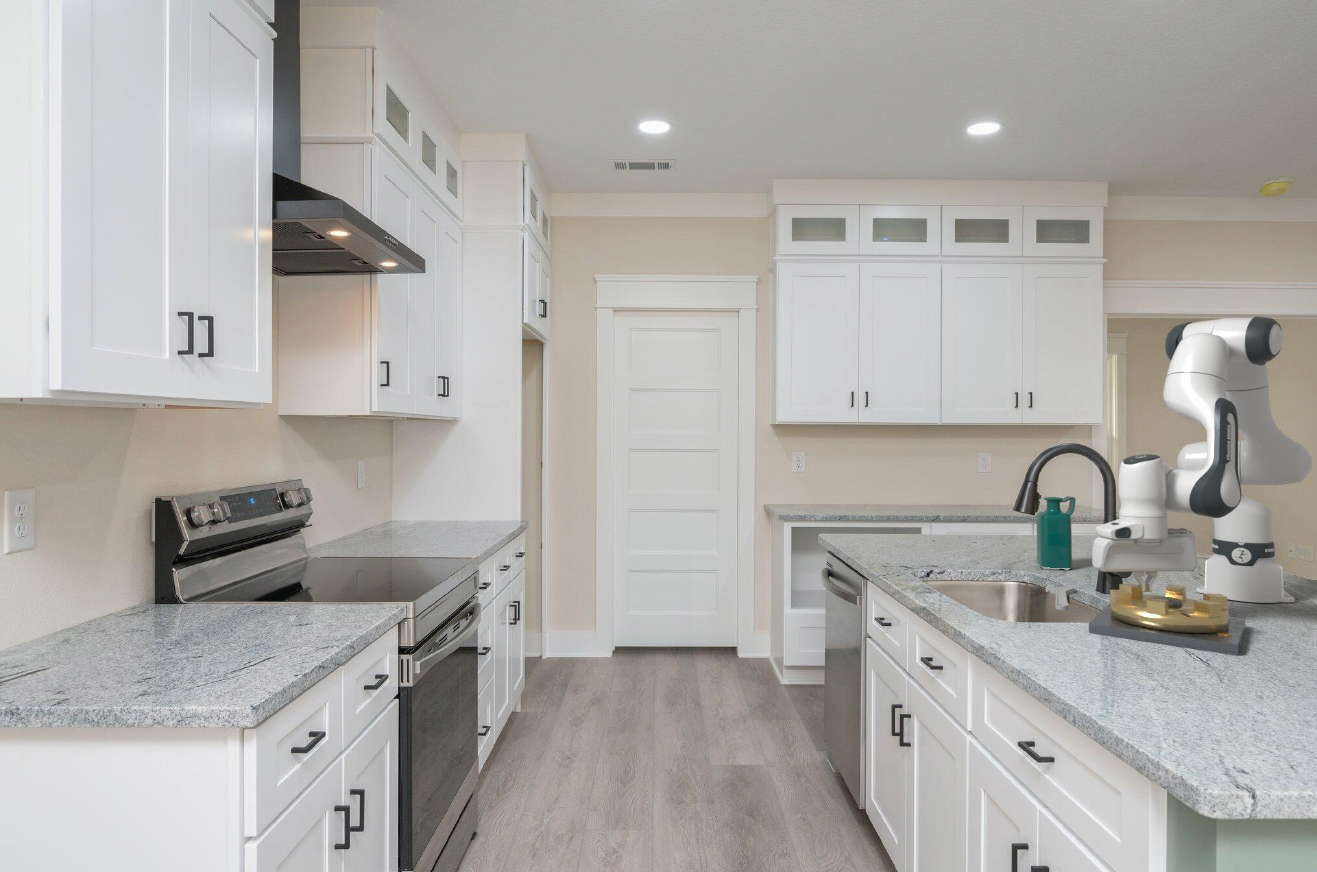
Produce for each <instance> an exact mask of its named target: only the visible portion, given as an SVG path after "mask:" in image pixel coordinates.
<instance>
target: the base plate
mask: <svg viewBox="0 0 1317 872" xmlns="http://www.w3.org/2000/svg"><path fill="white" fill-rule="evenodd" d="M1246 625H1247V622H1246V618H1243V617H1233V616H1229V628H1228V629H1227V630H1225V631H1220V632H1211V633H1190V632H1176V631H1167V630H1159V629H1153V628H1147V627H1142V626H1138V625H1133V624H1130V623H1126V622H1123V621H1120V620H1118V619H1116V618H1114V617H1113V616H1112V615H1111V602H1110V603H1109V604H1108V605H1107V606H1105V608H1103V610H1101V611H1100V612H1099V613H1098V614H1097V615H1096V616H1095V617H1094V618H1093V619H1092V620H1090V622H1088V633H1089V634H1095V635H1099V636H1101V635H1102V636H1108V637H1114V638H1121V639H1128V640H1134V641H1140V642H1141V641H1142V642H1147V643H1154V644H1161V645H1167V646H1173V647H1174V646H1175V647H1179V648H1186V649H1191V650H1197V651H1198V650H1199V651H1207V652H1213V653H1219V654H1224V655H1225V654H1226V655H1233V656H1239V654H1240V651H1241V647H1242V643H1243V639H1244V636H1245V632H1246V629H1247V626H1246Z"/></svg>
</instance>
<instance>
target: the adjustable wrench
mask: <svg viewBox="0 0 1317 872" xmlns="http://www.w3.org/2000/svg"><path fill="white" fill-rule="evenodd" d="M1062 586H1063V587H1062ZM1062 586H1056V585H1054V584H1048V585H1047V586H1046V587H1045V592H1046V593H1049V594H1052V595H1055V604H1054V605H1055V609H1056V610H1060V611H1069V603H1068V596H1069V595H1070V594H1071V595H1072V594H1075V593H1076V592H1075V590H1076V587H1075V586H1073V585H1069V584H1063V585H1062Z"/></svg>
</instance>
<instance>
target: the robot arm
mask: <svg viewBox="0 0 1317 872" xmlns="http://www.w3.org/2000/svg"><path fill="white" fill-rule="evenodd" d="M1164 343H1165V344H1164V347H1165V348H1164V349H1165V353H1166V356H1167V358H1168V359H1169V360H1170V362H1169V366H1168V370H1167V373H1166V376H1165V377H1166V378H1165V381H1164V385H1163V389H1162V390H1163V393H1162V395H1163V396H1162V397H1163V401H1164V403H1165V405H1166V406H1167V407H1168V409H1169V410H1170V411H1172V412H1173V413H1174V414H1175V415H1178V416H1179V417H1181V418H1185V419H1187V420H1190V421H1192V422H1195V423H1199V424H1201V425H1202V426H1203V427H1204V429H1205V431H1206V441H1198V442H1193V443H1188V444H1186V445H1184V446H1183V447H1182V448H1181V449H1180V451H1179V453H1178V454H1177V457H1176V466H1177V468H1174V467H1173V466H1170V465H1168V464H1166V463H1165V462H1164V461H1163V458H1162V456H1161V455H1158V454H1151V453H1150V454H1147V453H1146V454H1139V455H1137V454H1135V455H1130V456H1128V457H1126V458H1123V460H1121V463H1120V465H1119V470H1118V477H1117V478H1118V479H1117V480H1118V481H1117V485H1118V486H1117V488H1118V489H1117V492H1118V493H1117V494H1118V498H1119V501H1120V508H1119V511H1118V519H1115V520H1113V521H1110V522H1106V523H1103V524H1100V525H1097V526H1096V527H1095V530H1094V531H1095V534H1096V535H1097V536H1098V537H1096V538H1095V539H1094V541H1093V544H1092V556H1091V559H1092V561H1091V563H1092V566H1093V567H1094V569H1096V570H1097V571H1100V572H1102V573H1103V572H1104V573H1119V572H1120V573H1125V572H1129V573H1130V572H1131V574H1132V576H1133V578H1134V579H1135V581H1136V582H1137V585H1140V586H1143V593H1151V592H1153V584H1154V583H1155V581H1156V579H1157V578H1158V572H1195V571H1196V569H1197V568H1198V566H1199V565H1198V564H1199V563H1198V555H1197V550H1196V546H1195V544H1196V538H1195V537H1196V536H1195V534H1194V532H1192V531H1191V530H1190V529H1188V528H1186V527H1185V528H1183V527H1181V528H1176V527H1175V528H1173V527H1172V528H1171V527H1169V525H1168V523H1169V522H1168V521H1169V519H1168V512H1174V513H1179V514H1180V513H1181V514H1191V515H1198V516H1202V517H1208V518H1213V529H1214V530H1213V531H1214V535H1213V536H1214V537H1213V538H1212V540H1211V541H1212V542H1211V547H1212V548H1211V551H1212V553H1213V554H1212V555H1211V556H1210V557H1209V558H1208V559H1206V560H1205V563H1204V566H1205V567H1204V568H1205V569H1204V584H1203V585H1200V586H1197V587H1196V589H1195V592H1197V593H1199V594H1200V593H1201V594H1203V593H1210V594H1221V595H1224V596H1226V597H1227V600H1232V601H1238V602H1246V603H1257V604H1258V603H1260V604H1265V603H1266V604H1268V603H1269V604H1274V603H1296V600H1295V599H1296V598H1295V597H1294V596H1293V595H1291V594H1290V593H1289V592H1287V591H1286V590H1284V587H1285V585H1286V583H1285V581H1284V569H1283V566H1281V564H1280V563H1278V562H1277V561H1276V560H1275V558H1274V557H1275V556H1276V552H1275V551H1276V546H1275V542H1274V541H1273V532H1272V531H1273V528H1272V527H1273V526H1272V525H1273V523H1272V522H1273V519H1272V513H1271V511H1270V509H1269V508H1268V507H1267V506H1266V505H1265V504H1264V503H1261V502H1259V501H1258V500H1255V499H1252V498H1250V497H1248V496H1245V495H1243V494H1242V487H1241V486H1242V485H1243V486H1244V485H1246V486H1247V485H1249V486H1250V485H1251V486H1255V485H1256V486H1281V485H1290V484H1299V483H1301V482H1303V481H1304V480H1306V478H1308V476H1309V474H1311V470H1312V469H1313V468H1312V467H1313V459H1312V456H1311V453H1310V452H1309V451H1308V449H1307V448H1306V447H1305V446H1303V445H1302V444H1300V442H1297V441H1295V440H1293V439H1292V438H1290V437H1289V436H1287V435H1286V434H1285V433H1284V432H1283V431H1282V430H1281V429H1280V428H1279V427H1278V425H1277V424H1276V422H1275V420H1274V417H1273V415H1272V410H1271V404H1270V395H1269V393H1270V392H1269V391H1270V389H1269V387H1270V386H1269V375H1268V367H1267V363H1268V362H1270V361H1272V360H1274V359H1275V358H1276V357H1277V356H1278V355H1279V354H1280V352H1281V349H1282V346H1283V343H1284V334H1283V330H1282V326H1281V325H1280V323H1279V322H1277V320H1275V319H1274V318H1271V317H1264V316H1254V317H1221V318H1219V319H1217V318H1216V319H1207V320H1202V321H1197V322H1192V321H1189V322H1188V321H1187V322H1184V323H1180V324H1177V325H1175V326H1174V327H1173V328H1172V329H1171V330H1170V331H1169V332H1168V333H1167V335H1166V337H1165V342H1164ZM1239 434H1241V435H1242V436H1243V438H1244V439H1241V440H1239ZM1145 575H1146V578H1145V580H1144V577H1145Z"/></svg>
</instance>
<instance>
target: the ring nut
mask: <svg viewBox="0 0 1317 872" xmlns="http://www.w3.org/2000/svg"><path fill="white" fill-rule="evenodd" d="M1118 586H1119V589H1109V594H1110V595H1109V599H1110V600H1109V602H1110V603H1111V615H1112V616H1113V617H1114V618H1116V619H1118V620H1120V621H1123V622H1126V623H1130V624H1133V625H1138V626H1142V627H1147V628H1153V629H1159V630H1167V631H1176V632H1190V633H1211V632H1220V631H1225V630H1227V629H1228V628H1229V617H1230V611H1229V610H1228V599H1227V597H1226V596H1224V595H1221V594H1210V593H1202V599H1201V600H1197V599H1192V598H1187V591H1186V590H1187V587H1186V586H1184V585H1183V586H1182V585H1176V584H1175V585H1173V584H1168V585H1166V586H1165V595H1162V594H1161V595H1158V594H1143V593H1144V592H1143V586H1140V585H1138V584H1134V583H1131V582H1130V583H1119V585H1118Z"/></svg>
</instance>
